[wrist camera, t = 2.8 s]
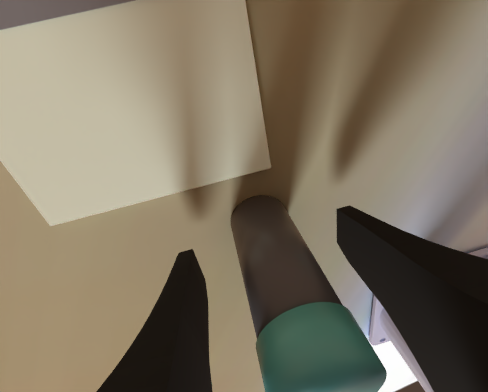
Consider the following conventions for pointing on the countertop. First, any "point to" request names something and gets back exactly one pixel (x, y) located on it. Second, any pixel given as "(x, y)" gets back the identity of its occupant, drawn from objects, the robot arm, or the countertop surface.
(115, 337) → the countertop surface
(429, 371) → the robot arm
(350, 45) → the countertop surface
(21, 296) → the countertop surface
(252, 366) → the countertop surface
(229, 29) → the notepad
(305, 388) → the marker
